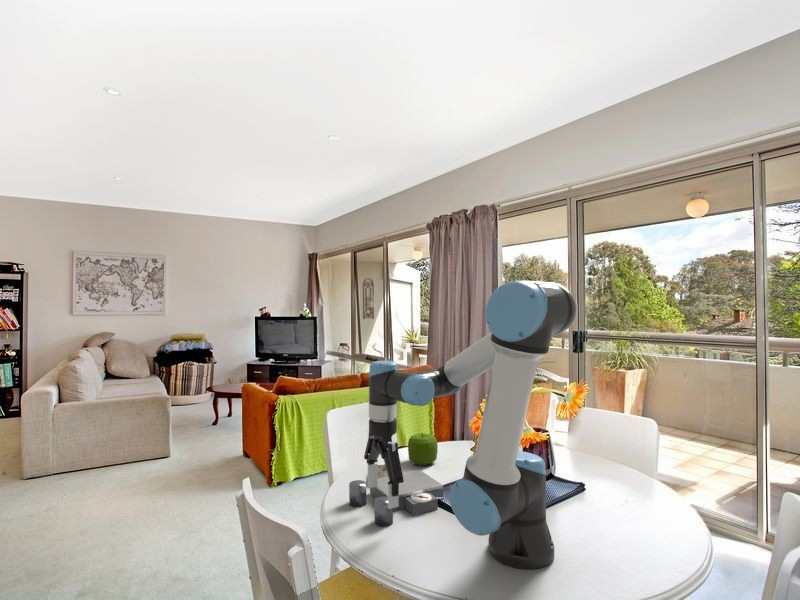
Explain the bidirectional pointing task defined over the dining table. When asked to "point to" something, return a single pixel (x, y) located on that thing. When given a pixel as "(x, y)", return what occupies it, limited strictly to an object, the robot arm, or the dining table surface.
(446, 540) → the dining table surface
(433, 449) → the apple
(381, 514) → the cylinder
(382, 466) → the stone
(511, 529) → the robot arm
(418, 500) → the scale
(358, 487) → the cylinder
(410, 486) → the platform
